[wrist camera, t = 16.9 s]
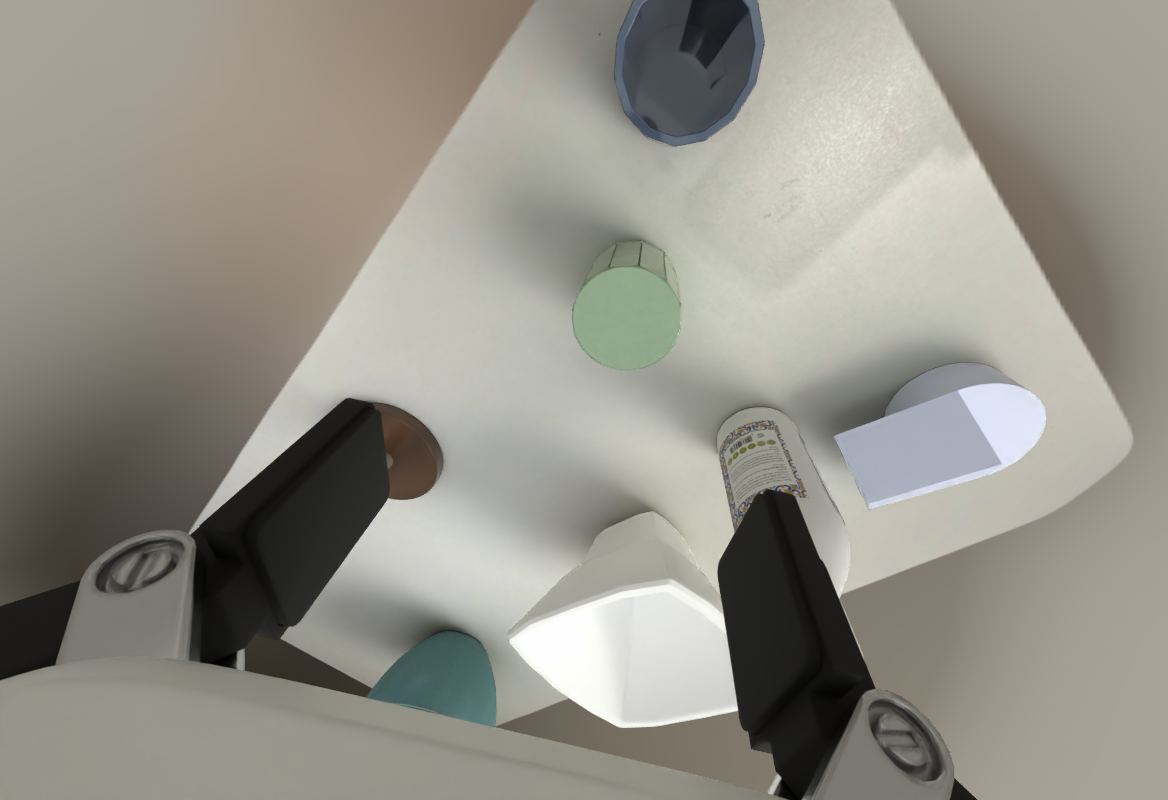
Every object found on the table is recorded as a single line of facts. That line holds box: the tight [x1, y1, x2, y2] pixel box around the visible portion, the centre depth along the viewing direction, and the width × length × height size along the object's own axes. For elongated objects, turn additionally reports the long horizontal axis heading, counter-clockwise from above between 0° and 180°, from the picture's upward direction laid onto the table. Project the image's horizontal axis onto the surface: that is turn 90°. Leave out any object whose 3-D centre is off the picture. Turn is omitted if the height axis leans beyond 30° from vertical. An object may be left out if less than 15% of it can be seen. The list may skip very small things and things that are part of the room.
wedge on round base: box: [834, 363, 1046, 510], centre depth 33 cm, size 9×7×13 cm
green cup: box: [572, 240, 681, 370], centre depth 30 cm, size 7×7×8 cm
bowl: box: [507, 511, 738, 728], centre depth 42 cm, size 19×19×14 cm
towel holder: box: [372, 403, 443, 500], centre depth 42 cm, size 12×12×10 cm
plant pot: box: [366, 631, 496, 727], centre depth 60 cm, size 18×18×12 cm
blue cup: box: [614, 0, 765, 147], centre depth 23 cm, size 6×6×9 cm
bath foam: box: [717, 407, 864, 659], centre depth 30 cm, size 7×7×20 cm
